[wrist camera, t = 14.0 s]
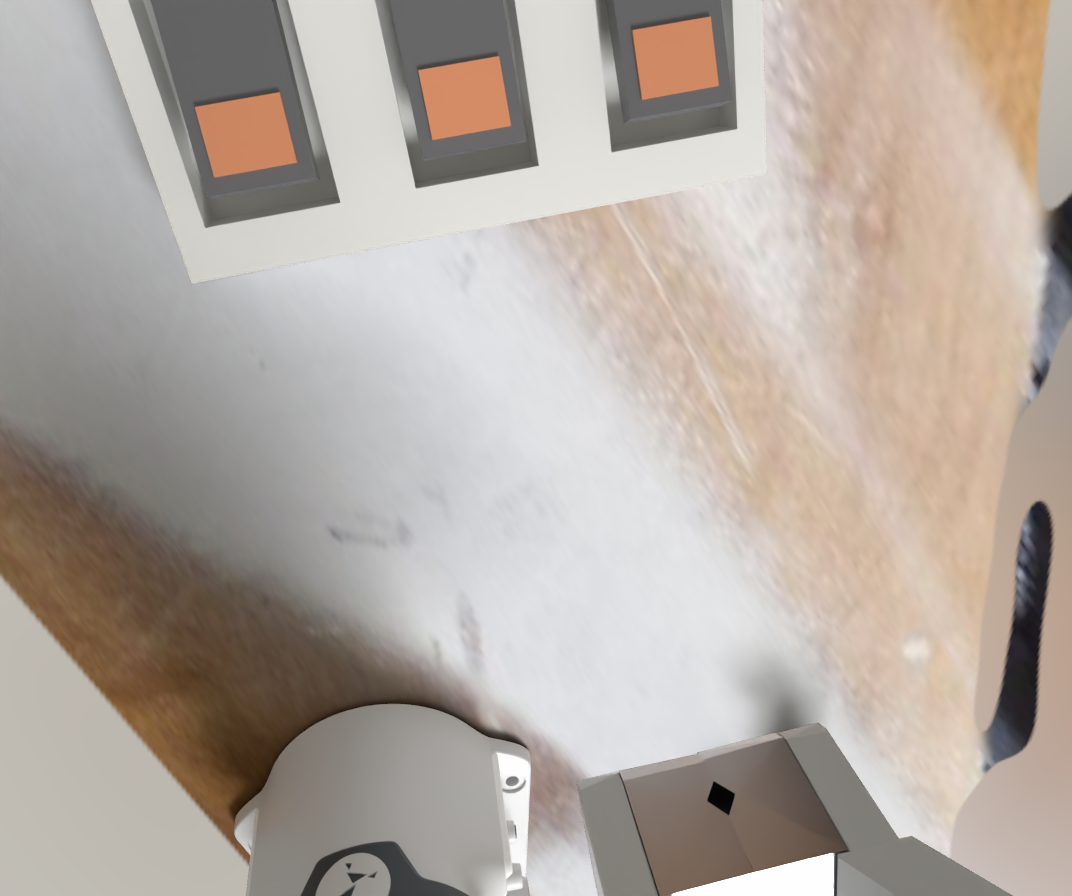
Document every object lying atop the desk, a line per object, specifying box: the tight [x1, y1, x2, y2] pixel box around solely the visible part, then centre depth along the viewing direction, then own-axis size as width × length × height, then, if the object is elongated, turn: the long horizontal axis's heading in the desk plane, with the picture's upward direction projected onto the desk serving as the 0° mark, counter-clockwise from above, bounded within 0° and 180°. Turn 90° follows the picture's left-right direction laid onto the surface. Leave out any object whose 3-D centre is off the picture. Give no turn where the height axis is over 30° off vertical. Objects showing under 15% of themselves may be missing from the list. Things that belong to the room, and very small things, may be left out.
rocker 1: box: [151, 0, 320, 199], centre depth 28 cm, size 12×4×1 cm, turn 9°
